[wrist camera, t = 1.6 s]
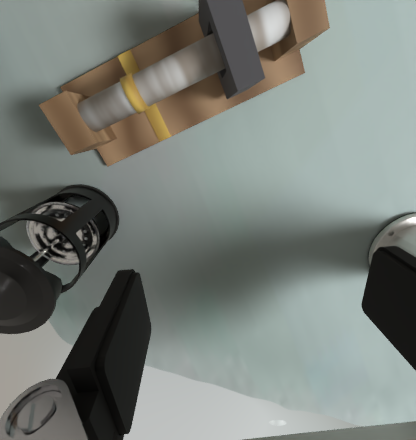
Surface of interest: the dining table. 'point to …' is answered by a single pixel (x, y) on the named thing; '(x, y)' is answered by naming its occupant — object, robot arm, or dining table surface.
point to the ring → (232, 44)
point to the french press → (50, 255)
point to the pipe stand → (176, 81)
